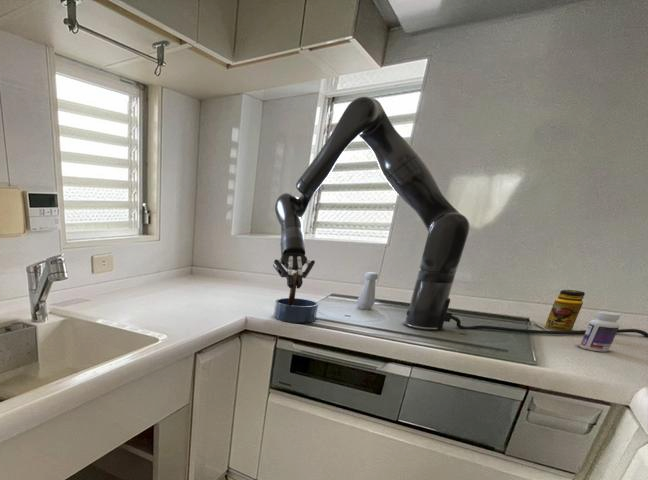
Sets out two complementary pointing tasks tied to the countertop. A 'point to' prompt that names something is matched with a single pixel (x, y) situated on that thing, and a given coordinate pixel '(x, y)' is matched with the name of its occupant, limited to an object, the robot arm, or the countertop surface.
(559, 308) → the condiment
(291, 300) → the brown stamp
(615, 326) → the pill bottle
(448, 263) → the robot arm
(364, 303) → the salt shaker
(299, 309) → the bowl
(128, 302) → the countertop surface
